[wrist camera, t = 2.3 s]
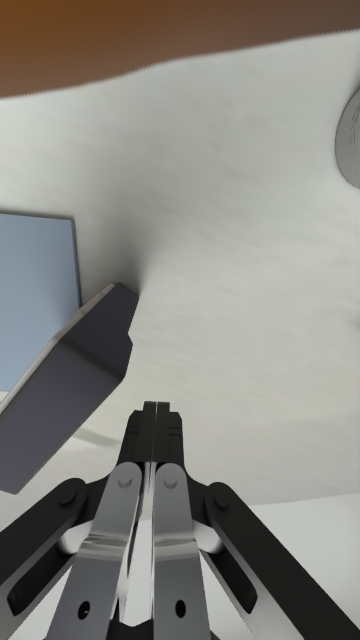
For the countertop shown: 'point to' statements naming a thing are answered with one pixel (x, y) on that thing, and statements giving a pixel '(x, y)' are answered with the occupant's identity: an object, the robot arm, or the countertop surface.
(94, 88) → the countertop surface
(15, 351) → the mat
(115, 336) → the dark grey boxy piece
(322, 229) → the countertop surface
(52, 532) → the robot arm
